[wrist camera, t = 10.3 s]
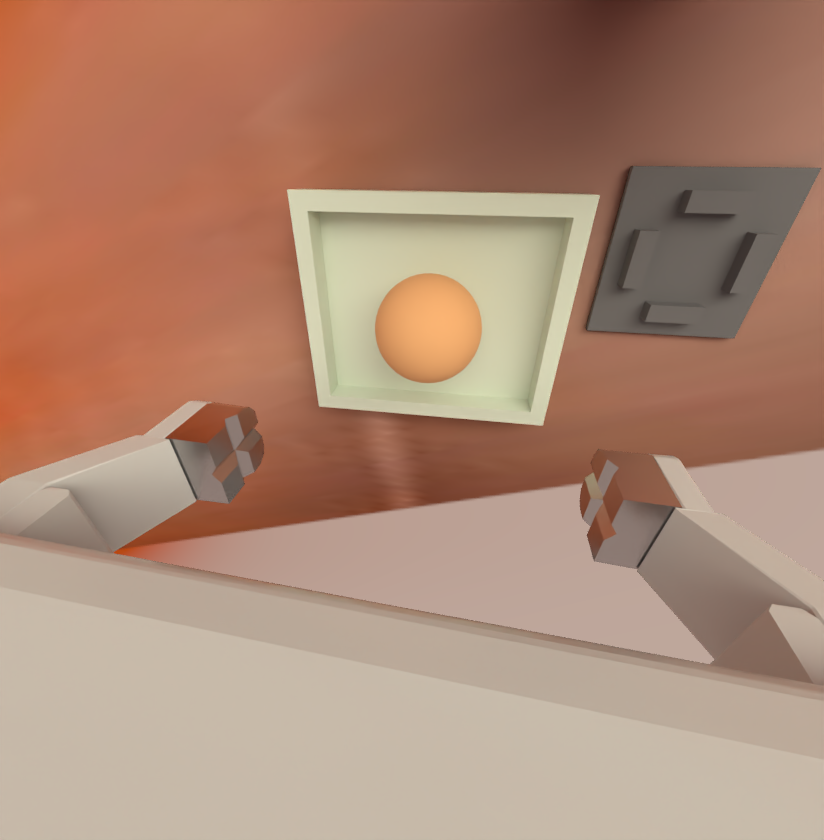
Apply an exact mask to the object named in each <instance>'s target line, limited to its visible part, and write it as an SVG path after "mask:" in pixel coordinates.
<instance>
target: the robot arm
mask: <svg viewBox="0 0 824 840" xmlns="http://www.w3.org/2000/svg"><path fill="white" fill-rule="evenodd" d="M257 423H258V420H257V417H256V414H255V411H254V410H252V409H251V408H249V407H243V406H236V405H229V404H222V403H215V402H214V403H212V402H207V401H198V400H195V401H189V402H187V403H186V404H185V405H183V406H182V407H181V408H179V409H178V410H177V411H175V412H174V413H172V414H171V415H170V416H168V417H167V418H166V419H164V420H163V421H162V422H160V423H159V424H158V425H156V426H155V427H154V428H152V429H151V430H150V431H148V432H147V433H146V434H144V435H143V436H140V435H136V436H133V437H130V438H127V439H124V440H121V441H118V442H115V443H112V444H109V445H106V446H103V447H100V448H97V449H94V450H91V451H88V452H85V453H82V454H79V455H76V456H73V457H70V458H67V459H64V460H61V461H58V462H55V463H52V464H49V465H46V466H43V467H40V468H37V469H34V470H31V471H28V472H25V473H23V474H20V475H17V476H14V477H11V478H8V479H7V480H5V481H3V482H2V483H0V840H824V580H822V579H821V578H819V577H818V576H816V575H815V574H813V573H812V572H810V571H809V570H807V569H806V568H804V567H803V566H801V565H800V564H798V563H797V562H795V561H794V560H792V559H791V558H789V557H787V556H786V555H784V554H783V553H782V552H780V551H779V550H777V549H775V548H774V547H773V546H771V545H770V544H768V543H767V542H765V541H763V540H762V539H760V538H759V537H757V536H756V535H754V534H753V533H751V532H750V531H748V530H747V529H745V528H743V527H742V526H741V525H739V524H738V523H736V522H734V521H733V520H732V519H730V518H729V517H727V516H726V515H724V514H719V513H715V512H714V511H713V509H712V508H711V506H710V505H709V503H708V502H707V500H706V499H705V498H704V496H703V494H702V493H701V491H700V490H699V488H698V487H697V485H696V484H695V482H694V481H693V479H692V478H691V476H690V475H689V473H688V472H687V470H686V469H685V467H684V466H683V464H682V463H681V461H680V460H679V459H678V458H676V457H674V456H668V455H657V454H640V453H631V452H622V451H612V450H603V449H598V450H597V451H596V452H595V454H594V456H593V458H592V461H591V466H592V469H593V473H592V474H590V475H589V476H587V477H586V478H585V479H584V482H583V485H582V488H581V494H580V510H581V514H582V518H583V519H584V521H586V523H587V524H589V525H590V526H591V527H590V529H589V531H588V534H587V537H588V541H589V544H590V548H591V552H592V555H593V559H594V561H597V562H602V563H607V564H612V565H618V566H624V567H629V568H634V569H638V570H637V572H638V573H639V574H640V575H641V576H642V577H643V578H644V580H645V581H646V582H647V583H648V584H649V585H650V586H651V587H652V589H653V590H654V591H655V592H656V593H657V594H658V595H659V597H660V598H661V599H662V600H663V601H664V602H665V603H666V605H668V607H669V608H670V609H671V610H672V611H673V612H674V614H675V615H676V616H677V617H678V618H679V619H680V620H681V621H682V623H683V624H684V625H685V626H686V627H687V628H688V629H689V631H690V632H691V633H692V634H693V635H694V636H695V637H696V639H697V640H698V641H699V642H700V643H701V644H702V645H703V646H704V648H705V649H706V650H707V651H708V652H709V653H710V654H711V655H712V657H713V658H714V659H715V660H714V661H713V662H712V663H711V664H704V663H699V662H694V661H689V660H683V659H678V658H672V657H667V656H661V655H656V654H651V653H646V652H640V651H635V650H630V649H624V648H619V647H613V646H608V645H603V644H597V643H591V642H587V641H581V640H576V639H570V638H565V637H560V636H554V635H549V634H543V633H538V632H532V631H527V630H522V629H516V628H511V627H505V626H500V625H495V624H489V623H483V622H478V621H473V620H468V619H462V618H457V617H451V616H445V615H440V614H434V613H429V612H424V611H419V610H413V609H408V608H402V607H397V606H391V605H386V604H380V603H376V602H370V601H365V600H359V599H354V598H349V597H343V596H338V595H333V594H328V593H322V592H317V591H312V590H306V589H301V588H296V587H290V586H285V585H280V584H274V583H269V582H263V581H258V580H253V579H248V578H242V577H237V576H231V575H226V574H220V573H215V572H210V571H205V570H199V569H194V568H189V567H183V566H177V565H173V564H167V563H162V562H156V561H151V560H146V559H140V558H135V557H129V556H124V555H118V554H114V553H113V552H114V551H116V550H118V549H119V548H121V547H123V546H124V545H126V544H127V543H129V542H131V541H132V540H134V539H136V538H137V537H139V536H141V535H142V534H144V533H145V532H147V531H149V530H150V529H152V528H154V527H155V526H157V525H158V524H160V523H162V522H163V521H165V520H167V519H168V518H170V517H172V516H173V515H175V514H176V513H178V512H180V511H181V510H183V509H185V508H186V507H188V506H189V505H191V504H193V503H194V502H196V499H197V500H204V501H212V502H220V503H228V504H229V503H230V502H231V501H232V499H233V498H234V497H235V496H236V494H237V493H238V492H239V491H240V489H241V488H242V487H243V486H244V484H245V483H244V477H245V476H247V475H249V474H251V473H253V472H255V470H256V469H257V468H258V466H259V465H260V463H261V460H262V457H263V454H264V443H263V439H262V436H261V435H260V434H259V433H258V432H257V431H256V430H255V429H254V428H255V427H256V425H257Z"/></svg>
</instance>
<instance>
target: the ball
mask: <svg viewBox="0 0 824 840" xmlns="http://www.w3.org/2000/svg"><path fill="white" fill-rule="evenodd" d="M375 335H376V341H377V345H378V348H379V351H380V353H381V355H382V357H383V358H384V360H385V361H386V363H387V364H388V365H389V366H390V367H391V368H392V369H393V370H394V371H395V372H396V373H398V374H399V375H401V376H403V377H404V378H406V379H409V380H411V381H415V382H420V383H436V382H441V381H444V380H447V379H449V378H452V377H453V376H455V375H457V374H458V373H460V372H461V371H462V370H463V369H464V368H466V366H467V365H468V364H469V363H470V362H471V360H472V359H473V357H474V356H475V354H476V352H477V350H478V347H479V344H480V340H481V335H482V322H481V315H480V311H479V308H478V306H477V304H476V302H475V300H474V298H473V297H472V295H471V294H470V293H469V291H468V290H467V289H466V288H465V287H464V286H462V285H461V284H460V283H459V282H457V281H455V280H454V279H452V278H449V277H447V276H444V275H440V274H433V273H424V274H417V275H414V276H411V277H408V278H406V279H404V280H403V281H401V282H400V283H398V284H396V285H395V286H394V287H393V288H392V289H391V290H390V291H389V292H388V293H387V295H386V296H385V298H384V299H383V301H382V302H381V305H380V307H379V309H378V313H377V316H376V322H375Z"/></svg>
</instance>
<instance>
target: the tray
mask: <svg viewBox="0 0 824 840" xmlns="http://www.w3.org/2000/svg"><path fill="white" fill-rule="evenodd" d="M287 192H288V199H289V206H290V213H291V220H292V226H293V233H294V240H295V247H296V253H297V260H298V267H299V274H300V281H301V287H302V294H303V301H304V308H305V314H306V321H307V328H308V335H309V342H310V348H311V355H312V362H313V369H314V375H315V382H316V389H317V396H318V403H319V406H320V407H331V408H343V409H355V410H366V411H378V412H390V413H401V414H413V415H425V416H436V417H448V418H460V419H471V420H483V421H495V422H506V423H518V424H530V425H541V426H543V422H544V418H545V414H546V410H547V406H548V402H549V398H550V394H551V390H552V386H553V382H554V378H555V374H556V370H557V366H558V362H559V358H560V354H561V350H562V346H563V342H564V338H565V334H566V330H567V326H568V322H569V318H570V314H571V310H572V306H573V302H574V298H575V294H576V290H577V286H578V282H579V278H580V274H581V269H582V265H583V261H584V257H585V253H586V249H587V245H588V241H589V237H590V233H591V229H592V225H593V221H594V217H595V213H596V209H597V205H598V201H599V197H600V195H595V194H579V193H521V192H463V191H405V190H346V189H290V190H287ZM424 273H433V274H440V275H444V276H447V277H449V278H452V279H454V280H455V281H457V282H459V283H460V284H461V285H462V286H464V287H465V288H466V289H467V290H468V291H469V293H470V294H471V295H472V297H473V298H474V300H475V302H476V304H477V306H478V308H479V311H480V315H481V322H482V335H481V340H480V344H479V347H478V350H477V352H476V354H475V356H474V357H473V359H472V360H471V362H470V363H469V364H468V365H467V366H466V368H464V369H463V370H462V371H461V372H460V373H458V374H457V375H455V376H453V377H452V378H449V379H447V380H444V381H441V382H436V383H420V382H415V381H411V380H409V379H406V378H404V377H403V376H401V375H399V374H398V373H396V372H395V371H394V370H393V369H392V368H391V367H390V366H389V365H388V364H387V363H386V361H385V360H384V358H383V357H382V355H381V353H380V351H379V348H378V345H377V341H376V335H375V322H376V316H377V313H378V309H379V307H380V305H381V302H382V301H383V299H384V298H385V296H386V295H387V293H388V292H389V291H390V290H391V289H392V288H393V287H394V286H395V285H396V284H398V283H400V282H401V281H403V280H404V279H406V278H408V277H411V276H414V275H417V274H424Z"/></svg>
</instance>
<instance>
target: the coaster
mask: <svg viewBox="0 0 824 840" xmlns="http://www.w3.org/2000/svg"><path fill="white" fill-rule="evenodd" d="M820 170H821V168H780V167H669V166H631V167H630V171H629V174H628V178H627V182H626V185H625V189H624V192H623V196H622V200H621V203H620V207H619V210H618V214H617V218H616V221H615V225H614V228H613V232H612V236H611V239H610V243H609V246H608V250H607V254H606V257H605V261H604V265H603V268H602V272H601V275H600V279H599V283H598V286H597V290H596V293H595V297H594V301H593V304H592V308H591V311H590V315H589V319H588V322H587V326H586V329H587V330H594V331H612V332H629V333H647V334H664V335H682V336H700V337H717V338H735V336H736V334H737V332H738V330H739V328H740V326H741V324H742V322H743V320H744V318H745V316H746V314H747V312H748V310H749V308H750V306H751V304H752V303H753V301H754V299H755V297H756V295H757V293H758V291H759V289H760V287H761V285H762V283H763V281H764V279H765V277H766V275H767V273H768V271H769V269H770V267H771V265H772V263H773V261H774V260H775V258H776V256H777V254H778V252H779V250H780V248H781V246H782V244H783V242H784V240H785V238H786V236H787V234H788V232H789V230H790V228H791V226H792V224H793V222H794V220H795V218H796V217H797V215H798V213H799V211H800V209H801V207H802V205H803V203H804V201H805V199H806V197H807V195H808V193H809V191H810V189H811V187H812V185H813V183H814V181H815V179H816V177H817V175H818V174H819V172H820Z"/></svg>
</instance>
